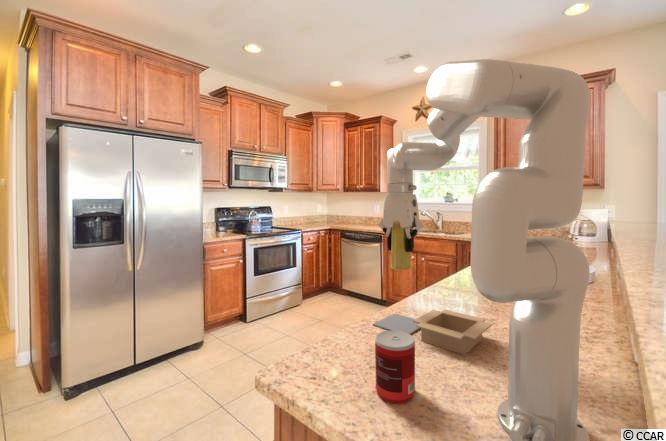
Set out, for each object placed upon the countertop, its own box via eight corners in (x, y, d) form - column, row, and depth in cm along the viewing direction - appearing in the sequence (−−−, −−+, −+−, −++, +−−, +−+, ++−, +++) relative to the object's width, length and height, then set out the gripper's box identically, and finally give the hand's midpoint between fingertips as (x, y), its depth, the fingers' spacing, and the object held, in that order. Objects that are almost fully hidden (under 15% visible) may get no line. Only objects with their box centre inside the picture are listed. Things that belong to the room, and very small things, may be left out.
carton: (470, 362, 74) (470, 341, 74) (408, 341, 86) (408, 323, 85) (495, 339, 86) (495, 321, 85) (437, 323, 97) (437, 307, 97)
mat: (407, 336, 88) (407, 334, 88) (372, 325, 97) (372, 323, 97) (428, 324, 97) (428, 322, 97) (395, 314, 105) (395, 313, 105)
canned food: (408, 380, 67) (408, 329, 66) (420, 404, 59) (420, 346, 58) (372, 381, 67) (372, 330, 66) (379, 405, 59) (378, 348, 58)
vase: (411, 270, 92) (411, 221, 91) (390, 269, 93) (389, 221, 93) (410, 266, 98) (410, 220, 97) (390, 265, 99) (390, 220, 98)
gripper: (432, 189, 91) (432, 251, 92) (383, 191, 103) (384, 246, 104) (419, 188, 86) (419, 255, 87) (369, 191, 98) (370, 249, 99)
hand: (400, 249), depth 95 cm, fingers closed on vase, 5 cm apart
